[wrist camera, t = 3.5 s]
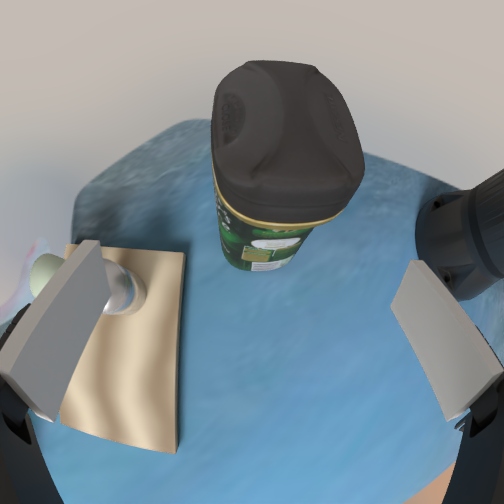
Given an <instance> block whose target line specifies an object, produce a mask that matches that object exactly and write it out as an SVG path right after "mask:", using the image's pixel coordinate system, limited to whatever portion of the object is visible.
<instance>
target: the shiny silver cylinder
mask: <svg viewBox="0 0 504 504" xmlns="http://www.w3.org/2000/svg"><path fill="white" fill-rule="evenodd" d="M103 261H104V266H105V270H106V274H107V279H108V283H109V287H110V290H111V294H112V295H111V297H110V299H109V300H108V302H107V304H106V306H105V308H104V310H103V312H102V314H109V315H125V316H128V315H133V314H135V313H137V312H138V311H139V310H140V309H141V308H142V307H143V305H144V303H145V301H146V296H147V292H146V286H145V283H144V281H143V280H142V279H141V277H140V276H139V275H137V274H136V273H134V272H132V271H130V270H128V269H126V268H124V267H122V266H120V265H119V264H117V263H115V262H113V261H111V260H109V259H105V258H103Z"/></svg>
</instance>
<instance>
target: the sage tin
mask: <svg viewBox="0 0 504 504" xmlns="http://www.w3.org/2000/svg"><path fill="white" fill-rule="evenodd" d="M65 261H66V260H65V259H63V258H60V257H58V256H55V255H53V254H43V255H41V256H40V257H39V258H38V259H37V260H36V261H35V262H34V264H33V266H32V268H31V272H30V288H31V291H32V294H33V296H34V297H35V298H36V297H37V296H38V294H39V293H40V292H41V290H42V289H43V288H44V286H45V285H46V284H47V283H48V281H49V280H50V279H51V278H52V276H53V275H54V274H55V273H56V271H57V270H58V269H59V268H60V267H61V265H62V264H63V263H64V262H65Z"/></svg>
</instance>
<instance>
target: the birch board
mask: <svg viewBox="0 0 504 504" xmlns="http://www.w3.org/2000/svg"><path fill="white" fill-rule="evenodd" d="M78 246H79V245H77V244H66V250H65V255H64V259H65V260H67V258H68V257H69V256H70V255H71V254H72V253H73V252H74V250H75V249H76V248H77V247H78ZM100 247H101V252H102V256H103V258H105V259H109V260H111V261H113V262H115V263H117V264H119V265H120V266H122V267H124V268H126V269H128V270H130V271H132V272H134V273H136V274H137V275H139V276H140V277H141V279H142V280H143V281H144V283H145V286H146V292H147V296H146V301H145V303H144V305H143V307H142V308H141V309H140V310H139V311H138V312H137V313H135V314H133V315H128V316H125V315H109V314H101V316H100V318H99V320H98V322H97V324H96V326H95V328H94V330H93V332H92V334H91V336H90V338H89V340H88V342H87V344H86V346H85V349H84V351H83V353H82V355H81V357H80V360H79V362H78V364H77V366H76V369H75V371H74V373H73V376H72V378H71V381H70V383H69V386H68V388H67V391H66V393H65V396H64V398H63V401H62V404H61V406H60V409H59V412H60V420H61V424H64V425H66V426H69V427H72V428H74V429H77V430H80V431H83V432H86V433H88V434H92V435H95V436H98V437H101V438H104V439H108V440H111V441H115V442H119V443H123V444H127V445H131V446H135V447H140V448H144V449H149V450H154V451H160V452H166V453H172V454H176V452H177V449H178V426H177V394H178V356H179V335H180V319H181V305H182V292H183V281H184V270H185V260H186V256H185V254H184V253H181V252H167V251H154V250H141V249H128V248H115V247H102V246H100Z"/></svg>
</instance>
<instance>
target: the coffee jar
mask: <svg viewBox="0 0 504 504" xmlns="http://www.w3.org/2000/svg"><path fill="white" fill-rule="evenodd" d="M211 155H212V171H213V184H214V192H215V200H216V208H217V214H218V223H219V232H220V239H221V245H222V250H223V253H224V256H225V257H226V259H227V260H228V262H229V263H230V264H231V265H233V266H234V267H236V268H238V269H241V270H247V271H266V270H272V269H277V268H280V267H282V266H284V265H286V264H287V263H288V262H289V261H290V260H291V259H292V258H293V256H294V255H295V254H296V252H297V251H298V250H299V248H300V246H301V245H302V243H303V242H304V240H305V239H306V238H307V237H308V235H309V234H310V232H311V231H312V230H313V228H314V227H316V226H319V225H322V224H324V223H327V222H329V221H331V220H332V219H334V218H335V217H336V216H338V215H339V214H340V213H341V212H342V211H343V210H344V208H345V207H346V206H347V204H348V203H349V201H350V199H351V198H352V196H353V195H354V193H355V192H356V190H357V189H358V187H359V185H360V183H361V181H362V179H363V176H364V170H365V163H364V157H363V152H362V148H361V144H360V140H359V137H358V133H357V130H356V127H355V124H354V121H353V119H352V116H351V113H350V111H349V109H348V107H347V104H346V102H345V100H344V98H343V96H342V94H341V93H340V92H339V90H338V89H337V87H335V85H334V84H333V83H332V82H331V81H330V80H329V79H328V78H326V76H324V75H323V74H322V73H320V72H319V71H318V69H317V68H316V67H315V66H312V65H308V64H302V63H294V62H285V61H265V60H260V61H259V60H258V61H248V62H246V63H245V64H244V65H242V66H240V67H238V68H236V69H235V70H233V71H232V72H230V73H229V74H228V75H227V76H226V77H225V78H224V79H223V80H222V81H221V82H220V84H219V85H218V87H217V89H216V92H215V96H214V103H213V111H212V120H211Z"/></svg>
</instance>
